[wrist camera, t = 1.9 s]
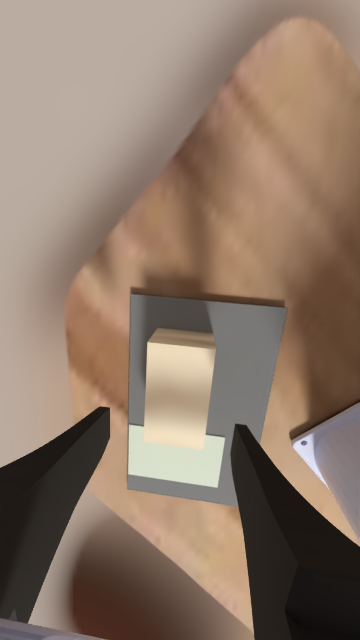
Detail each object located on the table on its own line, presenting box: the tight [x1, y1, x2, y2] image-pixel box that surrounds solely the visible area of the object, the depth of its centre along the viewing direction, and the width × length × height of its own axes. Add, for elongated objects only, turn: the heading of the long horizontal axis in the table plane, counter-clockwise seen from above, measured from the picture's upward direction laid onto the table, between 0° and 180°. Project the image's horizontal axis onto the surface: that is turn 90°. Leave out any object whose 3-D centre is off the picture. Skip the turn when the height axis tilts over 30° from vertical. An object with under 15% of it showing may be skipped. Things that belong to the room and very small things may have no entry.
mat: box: [127, 294, 287, 507], centre depth 19 cm, size 20×12×1 cm, turn 176°
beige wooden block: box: [144, 328, 216, 450], centre depth 17 cm, size 8×4×3 cm, turn 176°
